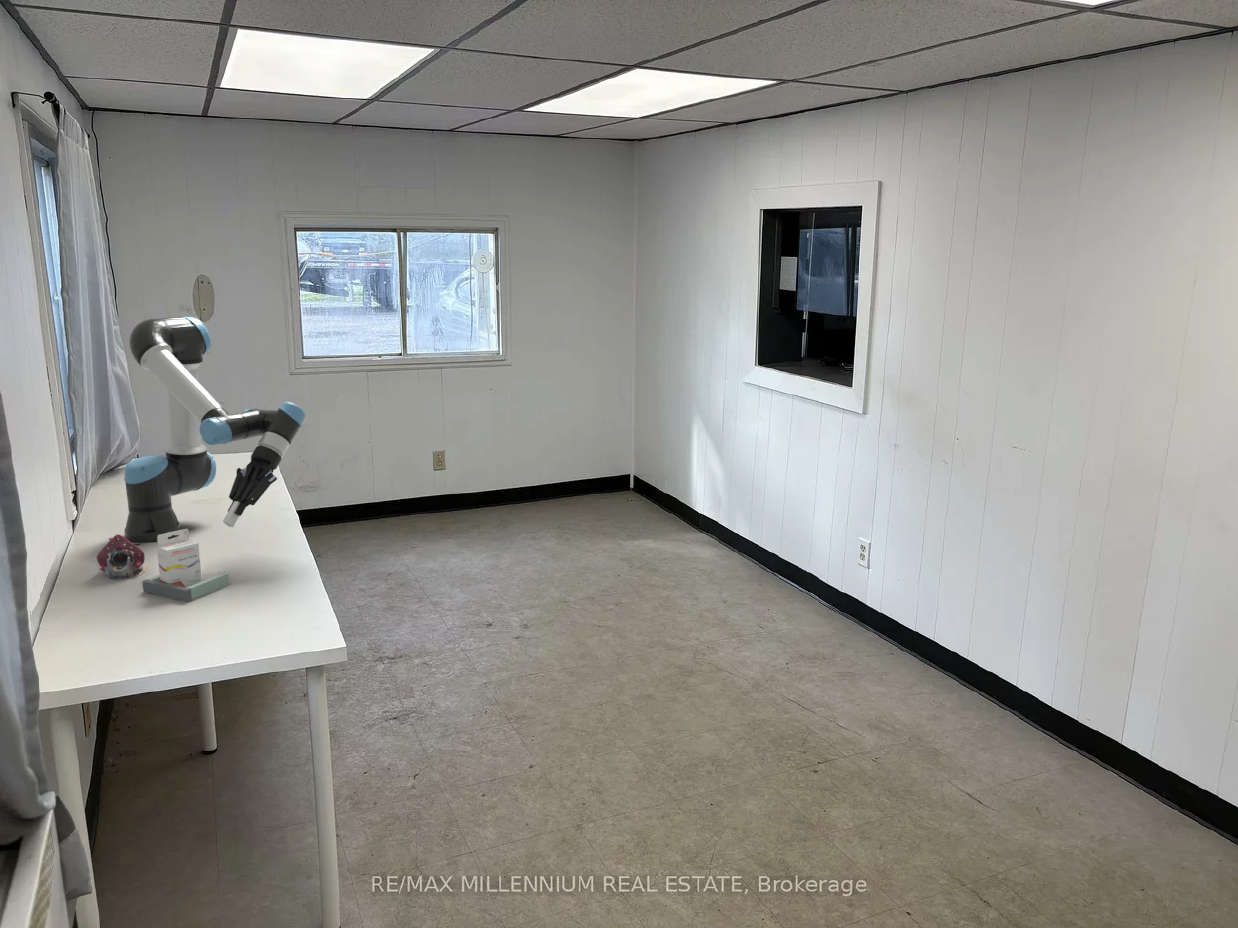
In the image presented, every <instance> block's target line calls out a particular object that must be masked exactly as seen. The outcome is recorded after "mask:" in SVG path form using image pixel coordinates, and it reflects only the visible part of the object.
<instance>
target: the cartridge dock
mask: <svg viewBox="0 0 1238 928" xmlns="http://www.w3.org/2000/svg"><path fill="white" fill-rule="evenodd" d="M201 581H202V582H199V583H197V584H194V585H192V586H189V587H187V588H186V587H182V586H177V585H172V584H168V583H163V582H160V574H157V575H155V576H153V577H149V578H147V579H144V580H142V590H143V593H145V594H150V595H154V596H155V595H156V596H160V597H163V598H168V599H173V600H175V601H176V600H178V601H182V602H186V603H188V602H190V601H193V600H195V599H197V598H199V597H202V596H204V595H207V594H210V593H212V592H214V591H216V590H219V589H222V588H224V587H226V586H228V585H230V574H229V572H223V573H222V572H221V573H220V574H217V575H215V576H211V577H210V578H207V579H205V580H201Z"/></svg>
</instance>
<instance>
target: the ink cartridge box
mask: <svg viewBox="0 0 1238 928" xmlns="http://www.w3.org/2000/svg"><path fill="white" fill-rule="evenodd" d="M172 535H176V536H177V537H171V536H172ZM168 537H171V538H168ZM189 537H190V536H189V529H188V528H184V529H181V530H178V531H174V532H169V533H165V534H161V535H158V536H157V541H156V542H157V547H156V550H157V561H158V570H159V571H158V572H159V575H160V582H163V583H168V584H172V585H177V586H182V587H186V588H187V587H189V586H192V585H194V584H197V583H199V582H202V581H203V580H202V571H201V559H200V547H199V542H197V541H194V540H192V539H189Z"/></svg>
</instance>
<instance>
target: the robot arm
mask: <svg viewBox="0 0 1238 928" xmlns="http://www.w3.org/2000/svg"><path fill="white" fill-rule="evenodd" d="M210 348H211V335H210V333H209V331H208V328H207V326H206V325H204V323H203V322H202V321H201V320H200V319H198V318H196V317H193V316H173V317H172V316H171V317H161V318H148V319H146V320H142V321H141V322H139V323H137V324H136V325H135V326H134V328H133V329H132V331H131V333H130V336H129V349H130V353H131V354H132V356H133V358H134V360H135V361H136V363H138V365H140V367H141V368H142V369H143V370H144V371H150V373H152V374H153V375H154V376H155V378H157V379H158V381H160V382H161V384H163V386H164V387H165V388H166V389H167V404H168V422H169V437H170V438H169V439H170V441H169V442H170V444H169V445H168V446H167V447H166V448H165V455H161V454H154V455H147V456H141V457H137V458H136V459H132V460H131V461H129V462H128V463H126V465H125V467H124V479H123V481H124V482H125V489H126V491H125V492H126V500H127V508H128V509H127V510H128V515H127V518H126V523H125V528H124V530H123V531H124V533H123V534H124V538H126V539H127V540H128V541H130V542H139V543H140V542H141V543H145V542H148V543H149V542H155V541H156V542H157V536H158V535H161V534H165V533H169V532H174V531H178V530H182V529H181V523H180V522H179V519H178V517H177V515H176V513H175V511H174V509H173V505H172V497H173V496H177V495H182V494H185V493H190V492H192V491H193V492H194V491H195V492H196V491H199V490H200V489H203V488H206V487H208V486H210V485H211V484H212V482H213V481H214V480H215V478H216V475H217V474H216V473H217V464H216V460H215V459H214V456H213V455H212V454H211V452H209V451H208V449H207V446H205V445H204V444H203V443H202V440H203V442H204V443H206V444H207V445H210V446H219V445H225V444H226V445H227V444H228V443H233V442H236V441H237V442H238V441H242V440H246V439H253V438H256V437H260V436H261V437H260V440H259V441H258V443H257V446H255V448H254V450H253V452H252V454H251V455H250V461H249V463H248V464H247V465H246V466H245V467H243V468H241V467H238V468H236V475H235V477H234V480H233V484H232V486H231V489H230V493H229V494H228V498H229V499H230V500H231V501H232V502H231V504H230V506H229V507H228V509H227V513H226V515H225V517H224V518H223V520H222V523H224V525H226V526H227V527H229V528H234V527H235V524H236V522H237V521H238V519H239V517H241V516H242V515H243V513H244V511H245V509H246V508H247V507H248V506H254V505H256V503H257V502H258V501H259V499H261V497H262V496H263V495H264V493H265V492H267V490H268V488H270V486H271V485H272V484H273V483H274V482H276V481H277V480H278V477H277V476H275V474H274V471H276V469H278V466H279V464H280V463H281V461H282V458H283V457H284V456H285V454H286V452H287V451H288V449H289V447H290V446H291V444H292V441H293V440H294V438H295V437H296V435H297V433H298V432H299V430H300V429H301V427H302V425H303V423H304V419H305V418H306V412H305V410H304V409H303V408H301V406H299V405H298V404H296V403H295V402H294V403H293V402H291V401H285V402H284V401H283V402H282V403H281V404H280V406H278V409H273V410H272V409H260V408H248V409H244V410H243V411H242V412H239V413H238V412H237V413H232V414H230V413H229V412H228V411H227V410H226V409H225V407H223V406H222V405H221V404H220V403H219V402H218V400H217V399H216V398H215V397H213V395H212V394H211V393H210V392H209V391H208V390H207V389H206V388H205V387H204V386H203V385H202V384H201V383H200V381H199V371H198V368H199V367H200V365H202V364H203V359H204V358H203V355H205V354H207V353H208V352H209V350H210ZM175 536H177V535H172V536H171V537H168V539H172V538H175Z"/></svg>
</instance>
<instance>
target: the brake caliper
mask: <svg viewBox="0 0 1238 928" xmlns="http://www.w3.org/2000/svg"><path fill="white" fill-rule="evenodd" d="M108 539H109V541H108V542H107V543H106V544H105V545H104V547H103V548H102V549H101V550H100V551H99V552H98V554H97V555H96V560H97V561H96V562H97V563H98V566H99V570H100V571H102V572H103V573H104V574H106V575H107V577H108V579H111V580H116V579H128V578H132V577H133V576H134V574H135V573H136V577H139V576H142V575H143V573H145V572H146V568H147V566H146V565H144V563H145V561H146V556H145V552H144V550H142V549H141V548H139V547H138V546H136V545H135V544H134V543H133V542H132V541H130V540H127V539H126V538H125V536H123V535H122V534H118V533H117V534H115V535H114V536H112V537H109V538H108ZM108 554H110V556H109V555H108ZM137 570H138V572H137Z"/></svg>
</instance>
